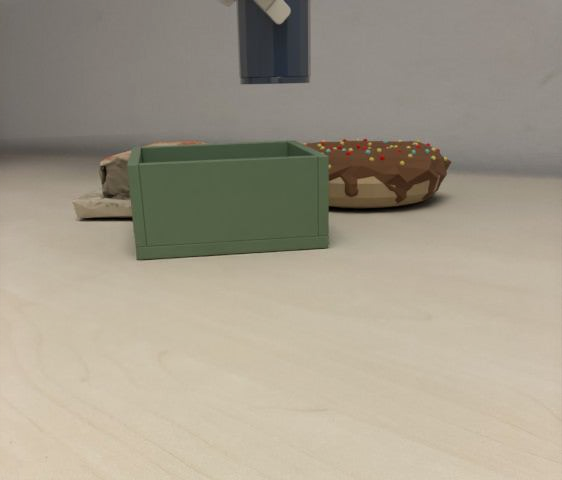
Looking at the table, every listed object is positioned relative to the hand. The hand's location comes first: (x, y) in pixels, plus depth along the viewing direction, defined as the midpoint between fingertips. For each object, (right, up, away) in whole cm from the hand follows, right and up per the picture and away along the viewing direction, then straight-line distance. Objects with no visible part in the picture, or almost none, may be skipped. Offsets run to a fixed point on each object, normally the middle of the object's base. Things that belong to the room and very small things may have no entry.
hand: (280, 23), depth 68 cm
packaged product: (-11, -19, -4) cm, 22 cm away
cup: (-1, -5, +2) cm, 5 cm away
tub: (-4, -24, -18) cm, 30 cm away
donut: (+8, -19, -6) cm, 21 cm away
